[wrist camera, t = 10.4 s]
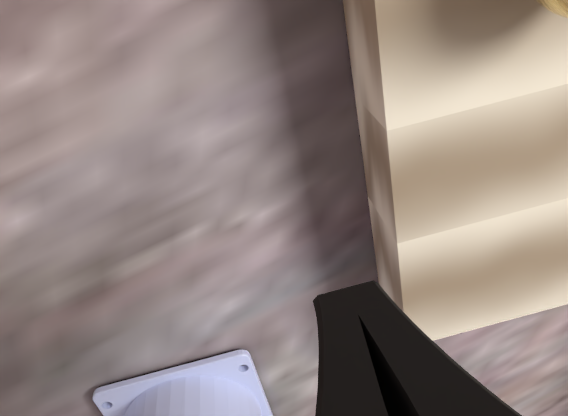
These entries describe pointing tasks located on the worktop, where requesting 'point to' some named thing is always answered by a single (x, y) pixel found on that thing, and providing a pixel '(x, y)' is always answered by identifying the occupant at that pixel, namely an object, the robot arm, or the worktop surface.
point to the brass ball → (556, 6)
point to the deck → (464, 155)
